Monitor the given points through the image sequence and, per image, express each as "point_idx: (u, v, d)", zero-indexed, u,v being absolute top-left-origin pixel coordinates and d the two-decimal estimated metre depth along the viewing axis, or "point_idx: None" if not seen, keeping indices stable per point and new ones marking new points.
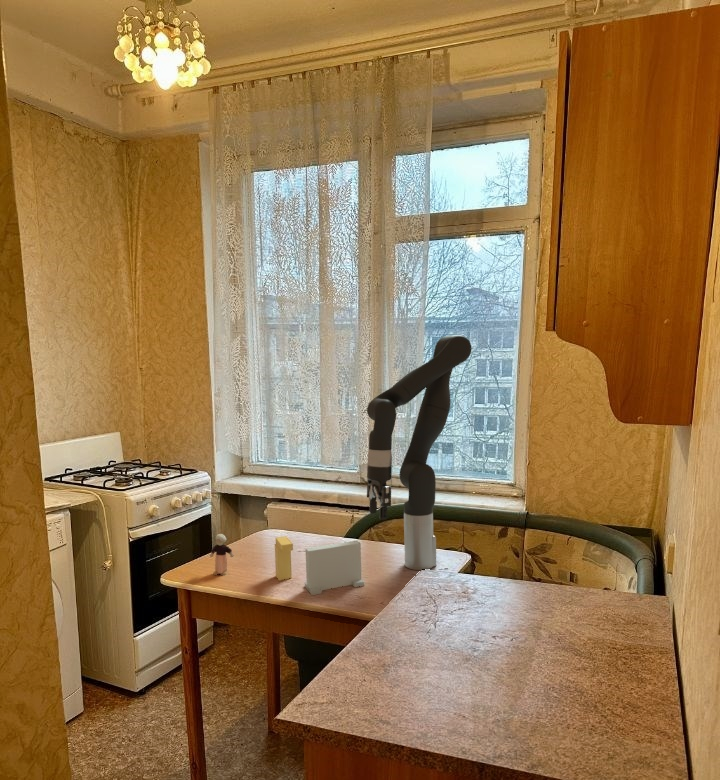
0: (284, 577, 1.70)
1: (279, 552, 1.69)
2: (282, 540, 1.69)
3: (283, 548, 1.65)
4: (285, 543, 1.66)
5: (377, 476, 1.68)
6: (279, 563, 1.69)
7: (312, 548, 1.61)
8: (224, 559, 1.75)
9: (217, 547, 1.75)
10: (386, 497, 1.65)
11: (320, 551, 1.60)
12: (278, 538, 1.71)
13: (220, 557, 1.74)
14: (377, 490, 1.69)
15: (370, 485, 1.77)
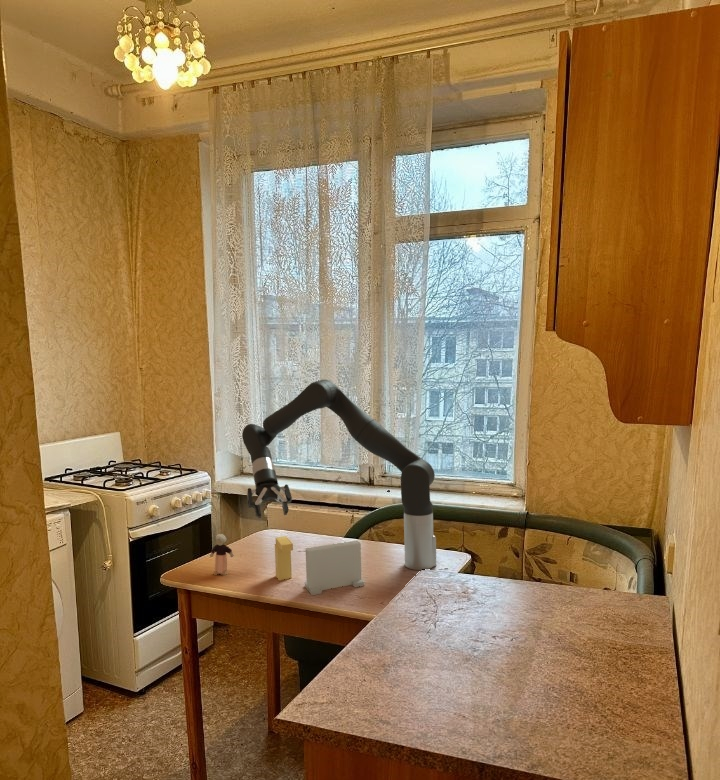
0: (284, 577, 1.70)
1: (279, 552, 1.69)
2: (282, 540, 1.69)
3: (283, 548, 1.65)
4: (285, 543, 1.66)
5: None
6: (279, 563, 1.69)
7: (312, 548, 1.61)
8: (224, 559, 1.75)
9: (217, 547, 1.75)
10: (247, 498, 1.83)
11: (320, 551, 1.60)
12: (278, 538, 1.71)
13: (220, 557, 1.74)
14: None
15: None
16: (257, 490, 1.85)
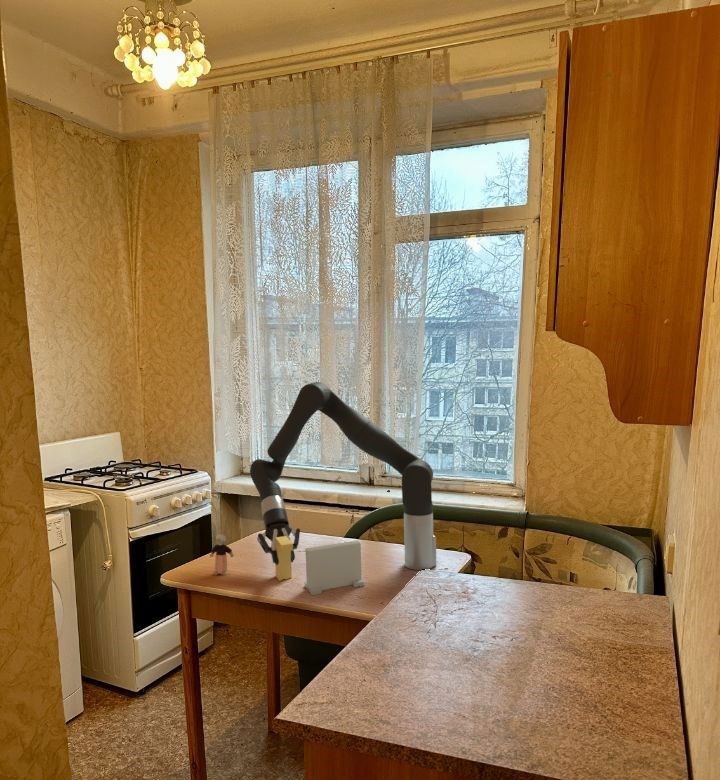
0: (284, 577, 1.70)
1: (279, 552, 1.69)
2: (282, 540, 1.69)
3: (283, 548, 1.65)
4: (285, 543, 1.66)
5: None
6: (279, 563, 1.69)
7: (312, 548, 1.61)
8: (224, 559, 1.75)
9: (217, 547, 1.75)
10: (261, 545, 1.72)
11: (320, 551, 1.60)
12: (278, 538, 1.71)
13: (220, 557, 1.74)
14: None
15: None
16: (267, 532, 1.74)
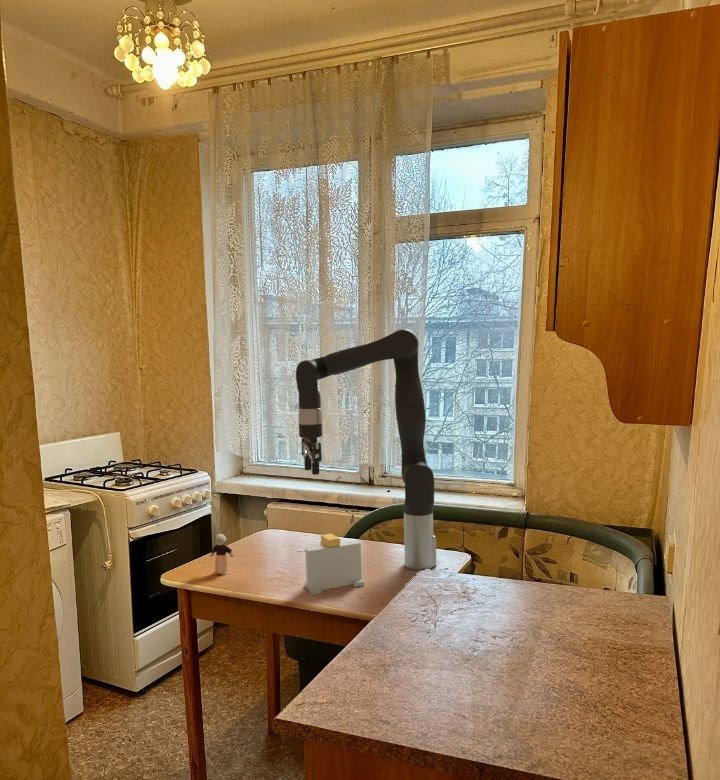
0: None
1: None
2: (328, 536, 1.66)
3: (330, 543, 1.61)
4: (332, 538, 1.63)
5: (308, 433, 1.76)
6: None
7: (312, 548, 1.61)
8: (224, 559, 1.75)
9: (217, 547, 1.75)
10: (316, 452, 1.74)
11: (320, 551, 1.60)
12: (324, 535, 1.68)
13: (220, 557, 1.74)
14: (309, 447, 1.78)
15: None
16: None
